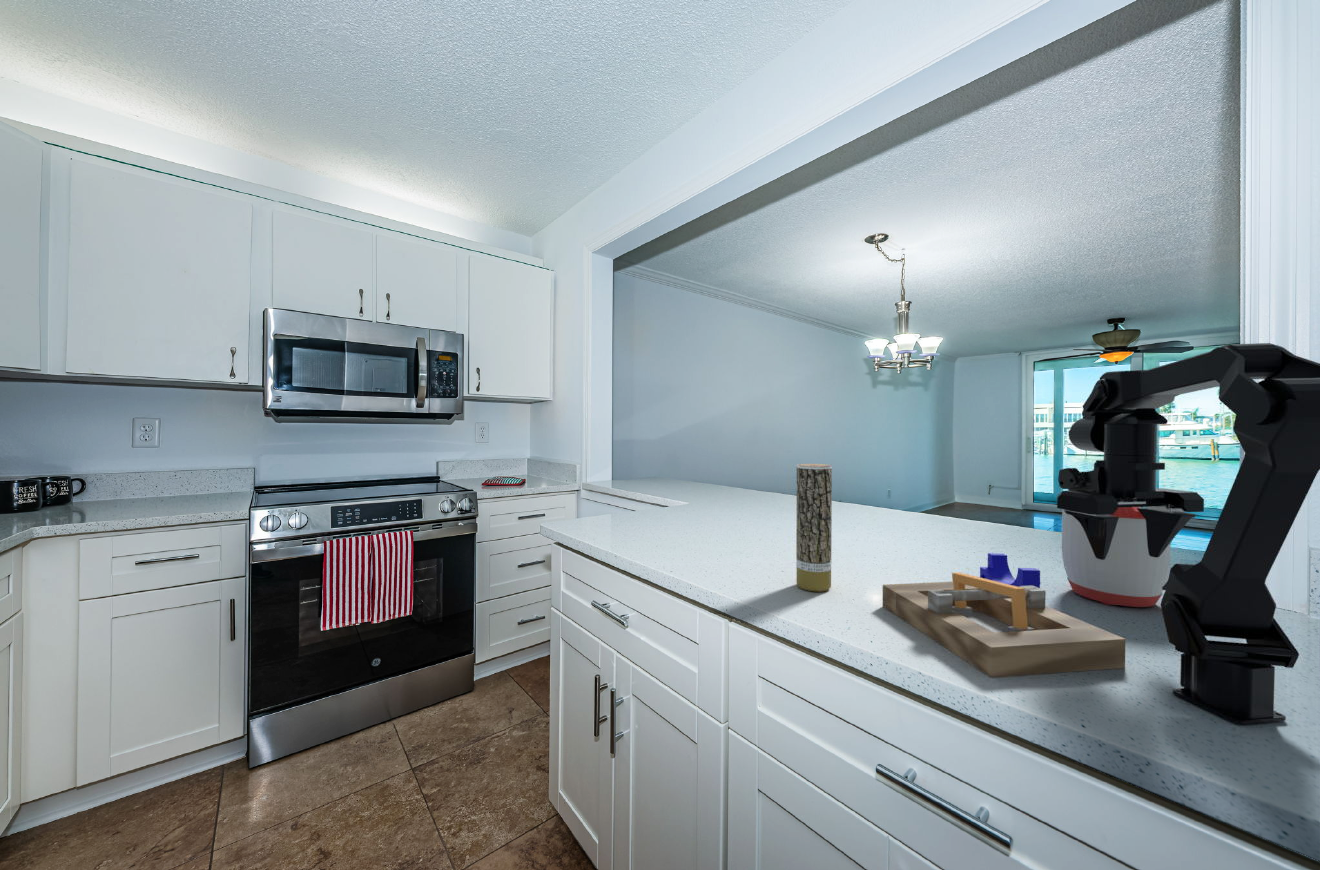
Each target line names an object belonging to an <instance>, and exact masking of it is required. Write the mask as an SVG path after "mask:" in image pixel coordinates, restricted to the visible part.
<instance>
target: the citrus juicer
mask: <svg viewBox="0 0 1320 870" xmlns="http://www.w3.org/2000/svg"><path fill="white" fill-rule="evenodd" d="M1137 508H1142V507H1118V509H1117V510H1116V512H1115V513H1114V514H1111V516H1117V517H1119V519H1118V522H1117V525H1116V529H1115V532H1114V535H1113V538H1112V542H1111V545H1110V548H1109V551H1108V554H1107V556H1106V558H1105V560H1101V559H1097V558H1096V557H1095V555H1094V553H1093V550H1092V548H1091V545H1090V543H1089V541H1088V538H1087V536H1086V533H1085V531H1084V529H1083V527H1082V526H1081V524H1080V522H1079V521H1078V520H1076V519H1075V518H1074V517H1073V516H1072V515H1069V514H1066V513H1065V512H1064V509H1061V510H1062V513H1061V515H1062V517H1061V558H1062V561H1063V562H1062V563H1063V567H1064V568H1063V569H1064V570H1065V574H1066V576H1067V581H1068V583H1069V585H1070V587H1071V589H1072V591H1073V592H1074V593H1076V594H1077V595H1079V596H1082V597H1084V598H1086V599H1090V600H1094V601H1098V602H1100V603H1102V604H1104V605H1107V606H1125V607H1133V608H1149V607H1153V606H1156V604H1157V603H1158V602H1159V600H1160V599H1161V597H1162V596H1163V591H1164V590H1163V589H1162V587H1163V586H1164V585H1165V584H1166V582H1167V581H1168V578H1169V573H1170V569H1171V566H1170V565H1171V542H1172V541H1171V542H1170V544H1169V545H1168V546H1167V548H1166V549H1165V550H1164V551H1163V553H1162V554H1161V555H1160V557H1158V558H1155V557H1151V556H1150V555H1149V552H1148V546H1147V530H1146V520H1145V518H1144V517H1143V516H1142V515H1141V513H1140V512H1139V511H1138V510H1137Z"/></svg>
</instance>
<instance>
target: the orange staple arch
mask: <svg viewBox="0 0 1320 870" xmlns="http://www.w3.org/2000/svg"><path fill="white" fill-rule="evenodd" d="M951 578H952V582H953V585H954V590H965V585H969V586H972V587H976V588H980V589H983V590H987V591H991V592H994V593H998V594H1002V595H1005V596H1009V597H1011V603H1012V614H1013V626H1006V629H1007V630H1006V632H1016V631H1033V630H1035V629H1034V628H1031V627H1028V623H1027V612H1026V601H1025V598H1026V595H1025V588H1021V587H1017V586H1013V585H1009V584H1004V583H1000V582H996V581H992V580H988V579H984V578H980V576H979V577H978V576H975V575H970V574H968V573H963V572H951ZM953 611H955V612H957V613H959V614H961V615H963V616H964V617H967V616H968V617H969V616H974V611H973V608H970V607H967V605H966V601H955V606H953Z"/></svg>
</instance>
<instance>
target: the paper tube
mask: <svg viewBox="0 0 1320 870" xmlns="http://www.w3.org/2000/svg"><path fill="white" fill-rule="evenodd" d="M832 477H833V468H832V464H826V463H825V464H824V463H799V464H796V537H795V538H796V541H795V543H796V544H795V545H796V547H795V548H796V557H795V560H796V562H795V563H796V574H795V575H796V581H795V582H796V584H797V586H798V588H800V589H801V590H804V591H808V592H815V593H816V592H817V593H818V592H819V593H822V592H826V591H828V590H830V588H831V587H832V533H833V532H832V529H833V528H832V521H833V520H832V515H833V513H832V503H833V502H832V501H833V500H832V499H833V498H832V497H833V496H832V493H833V492H832V489H833V487H832V486H833V483H832V482H833V481H832V480H833V478H832Z"/></svg>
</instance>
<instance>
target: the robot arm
mask: <svg viewBox="0 0 1320 870" xmlns="http://www.w3.org/2000/svg"><path fill="white" fill-rule="evenodd" d="M1255 380H1261V381H1258V382H1257V381H1255ZM1217 387H1219V389H1218V400H1219V401H1220V402H1221V403H1222V404H1223V405H1224V406H1225V407H1227V409H1229V410H1230V411H1231V412H1233V413H1234V414H1235V418H1234V422H1233V426H1232V427H1233V428H1232V429H1233V433H1234V434H1235V436H1236V438H1237V440H1238V442H1239V444H1240V445H1241V448H1242V449H1243V452H1244V456H1243V460H1242V462H1241V465H1240V467H1239V469H1238V472H1237V474H1236V476H1235V479H1234V481H1233V483H1232V485H1231V487H1230V490H1229V493H1228V495H1227V498H1226V500H1225V503H1224V505H1223V508H1222V510H1221V512H1220V514H1219V517H1218V520H1217V522H1216V525H1215V527H1214V529H1213V531H1212V534H1211V537H1210V540H1209V542H1208V544H1207V546H1206V549H1205V551H1204V553H1203V556H1202V558H1201V560H1200V561H1199V562H1197V563H1196V564H1191V563H1190V564H1189V563H1188V564H1187V563H1175V564H1173V566H1171V567H1170V568H1169V575H1168V578H1167V582H1166V584H1165V585H1164V586H1163V587H1162V589H1163V591H1164V593H1163V594H1162V596H1163V597H1162V598H1161V602H1160V609H1161V613H1162V616H1163V622H1164V625H1165V629H1166V630H1165V631H1166V634H1167V639H1168V642H1169V644H1171V645H1173V646H1174V650H1176V651H1177V652H1180V653H1181V654H1180V669H1179V670H1180V678H1179V681H1180V683H1179V684H1180V686H1181V687H1180V688H1172V694H1173V695H1175V696H1177V697H1180V698H1181V699H1184V700H1186V701H1187V702H1190V703H1191V704H1194V705H1195V706H1198V707H1200V708H1202V709H1204V710H1206V711H1208V712H1211V713H1213V714H1214V715H1217V716H1219V717H1221V718H1224V719H1226V720H1227V721H1230V722H1232V723H1234V724H1237V725H1250V724H1252V725H1253V724H1262V723H1276V722H1285V721H1286V719H1287V718H1286V717H1287V716H1286V715H1284V714H1282V713H1280V712H1278V711H1276V710H1275V680H1276V679H1275V678H1276V677H1275V675H1276V674H1275V671H1276V667H1284V668H1287V669H1289V668H1290V669H1293V668H1294V666H1295V665H1296V663H1297V660H1298V659H1299V656H1300V654H1299V651H1298V650H1297V648H1296V647H1295V646H1294V644H1293V643H1292V642H1291V640H1290V639H1289V637H1288V636H1287V634H1286V633H1285V632H1284V630H1283V629H1282V627H1281V625H1280V624H1279V623H1278V622H1277V620H1276V619H1275V613H1276V608H1277V603H1276V601H1275V600H1274V598H1273V596H1272V593H1271V591H1270V590H1269V588H1268V586H1267V583H1266V582H1267V578H1268V576H1269V574H1270V571H1271V570H1272V568H1273V565H1274V563H1275V561H1276V559H1277V557H1278V555H1279V553H1280V551H1281V549H1282V547H1283V545H1284V543H1285V540H1286V539H1287V537H1288V535H1289V533H1290V531H1291V528H1292V526H1293V524H1294V522H1295V520H1296V518H1297V516H1298V514H1299V513H1300V510H1301V507H1302V506H1303V504H1304V502H1305V500H1306V498H1307V495H1308V493H1309V491H1310V490H1311V487H1312V485H1313V484H1314V481H1315V479H1316V477H1317V476H1318V475H1317V474H1318V473H1319V471H1320V362H1316V361H1314V360H1310V359H1308V358H1304V357H1301V356H1299V355H1296V354H1294V353H1293V352H1291V351H1289V350H1288V349H1287V348H1285V347H1284V346H1282V345H1281V346H1280V345H1277V344H1274V343H1270V342H1263V343H1262V342H1261V343H1260V342H1259V343H1232V344H1224V345H1221V346H1216V347H1215V348H1213V349H1212V350H1210V351H1207V352H1203V353H1200V354H1198V355H1197V354H1196V355H1194V356H1190V357H1187V358H1186V357H1185V358H1183V359H1180V360H1176V361H1174V362H1173V361H1172V362H1170V363H1166V364H1164V365H1160V366H1159V365H1158V366H1156V367H1153V368H1150V369H1149V368H1148V369H1137V370H1118V371H1117V370H1116V371H1106V372H1104V373H1103V374H1102V375H1101V376H1100V377H1099V379H1098V380H1097V381H1096V383H1095V384H1094V385H1093V388H1092V390H1091V392H1090V394H1089V395H1088V397H1087V399H1086V400H1085V402H1084V403H1083V405H1082V409H1083V410H1082V412H1081V416H1082V418H1080V419H1077V420H1076V421H1075V422H1074V423H1073V424H1072V425H1071V427H1070V429H1069V430H1068V440H1069V441H1070V443H1071V444H1072V445H1073V446H1074V447H1075V448H1077V449H1079V450H1080V451H1086V452H1097V453H1098V452H1099V453H1103V459H1100V460H1099V459H1096V460H1095V462H1094V464H1093V470H1089V471H1080V470H1079V469H1078V468H1076V467H1065V468H1063V469H1059V470H1058V477H1057V480H1058V485H1059V488H1061V489H1062V491H1061V492H1060V493H1058V494H1057V495H1056V509H1060V510H1062V509H1064V512H1065V513H1066V514H1069V515H1072V516H1073V517H1074V518H1075V519H1076V520H1078V521H1079V522H1080V524H1081V526H1082V527H1083V529H1084V531H1085V533H1086V536H1087V538H1088V541H1089V543H1090V545H1091V548H1092V550H1093V553H1094V555H1095V557H1096V558H1097V559H1101V560H1105V558H1106V556H1107V554H1108V551H1109V548H1110V545H1111V542H1112V538H1113V535H1114V532H1115V529H1116V525H1117V522H1118V519H1119V517H1117V516H1111V514H1114V513H1115V512H1116V510H1117V509H1118V507H1141V508H1137V510H1138V511H1139V512H1140V513H1141V515H1142V516H1143V517H1144V518H1145V520H1146V530H1147V546H1148V552H1149V555H1150V556H1151V557H1155V558H1158V557H1160V555H1161V554H1162V553H1163V551H1164V550H1165V549H1166V548H1167V546H1168V545H1169V544H1170V542H1172V541H1173V540H1174V538H1176V536H1177V535H1178V533H1179V532H1180V531H1181V530H1182V529H1183V528H1184V527H1185V526H1186V525H1187V523H1188V522H1189V521H1190V520H1191V519H1194V518H1196V515H1197V514H1196V513H1204V512H1205V499H1204V498H1203V497H1202V496H1201V494H1199V493H1198V492H1196V491H1191V490H1190V491H1188V490H1182V489H1181V490H1180V489H1173V488H1172V489H1171V488H1161V487H1160V488H1157V487H1156V486H1157V471H1164V470H1166V463H1165V462H1160V461H1158V462H1157V449H1158V447H1157V444H1158V425H1166V424H1168V422H1169V421H1168V419H1167V418H1166V417H1165V416H1164V415H1162V414H1160V413H1159V412H1158V411H1156V409H1160V408H1162V407H1164V406H1167V405H1168V404H1172V403H1173V402H1174V401H1175V398H1176V397H1178V396H1180V395H1184V394H1189V393H1194V392H1198V391H1203V390H1208V389H1209V390H1210V389H1214V388H1217ZM1207 637H1213V638H1215V637H1216V638H1226V639H1227V638H1228V639H1238V640H1245V641H1246V642H1244V643H1243V642H1233V641H1222V640H1212V639H1211V640H1210V639H1207Z"/></svg>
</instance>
